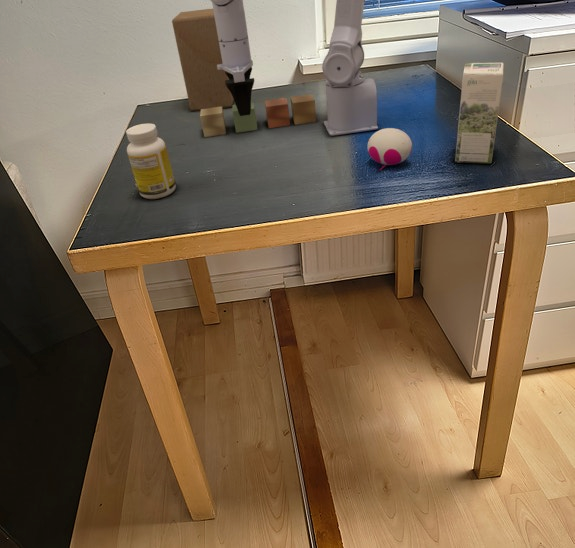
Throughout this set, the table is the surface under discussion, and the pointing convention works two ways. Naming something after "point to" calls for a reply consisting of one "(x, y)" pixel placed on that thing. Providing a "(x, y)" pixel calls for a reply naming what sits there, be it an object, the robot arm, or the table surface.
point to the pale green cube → (244, 120)
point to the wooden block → (201, 60)
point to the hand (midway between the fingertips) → (244, 109)
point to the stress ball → (389, 146)
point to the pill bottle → (150, 162)
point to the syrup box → (479, 112)
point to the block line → (274, 111)
